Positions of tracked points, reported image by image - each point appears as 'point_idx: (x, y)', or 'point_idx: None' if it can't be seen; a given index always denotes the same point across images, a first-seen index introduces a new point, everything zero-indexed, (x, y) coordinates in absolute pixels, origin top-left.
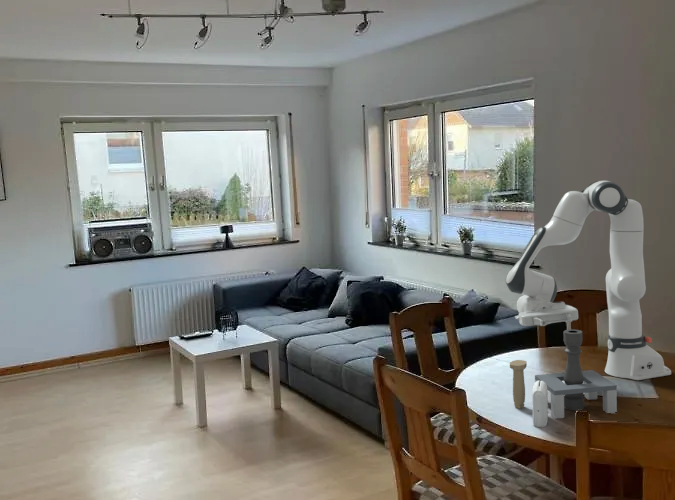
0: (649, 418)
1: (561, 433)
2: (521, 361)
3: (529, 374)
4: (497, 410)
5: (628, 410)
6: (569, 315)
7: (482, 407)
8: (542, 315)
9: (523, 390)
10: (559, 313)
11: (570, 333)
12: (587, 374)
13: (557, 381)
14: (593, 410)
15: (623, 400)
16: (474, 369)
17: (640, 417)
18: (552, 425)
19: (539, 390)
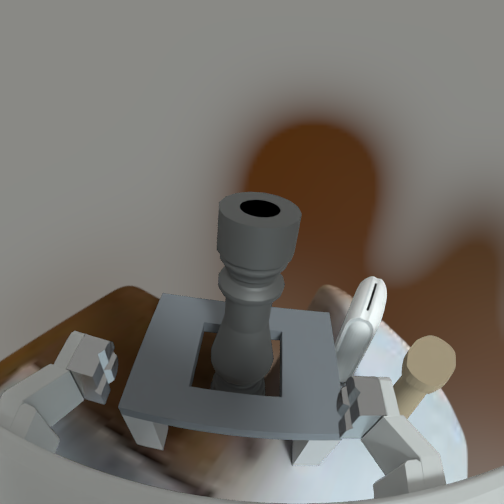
0: (135, 304)
1: (322, 308)
2: (422, 369)
3: None
4: (421, 423)
5: (135, 343)
6: (52, 368)
7: (449, 442)
8: (344, 502)
9: None
10: (86, 468)
11: (282, 200)
12: (167, 380)
13: (295, 363)
14: (204, 370)
15: None
16: None
17: (145, 312)
18: None
19: (375, 278)
